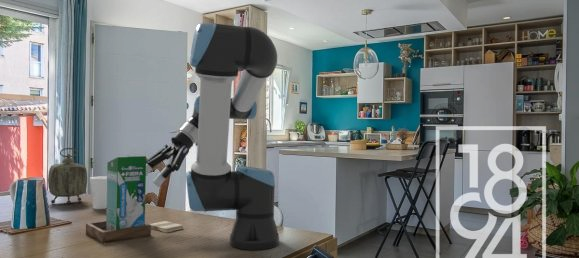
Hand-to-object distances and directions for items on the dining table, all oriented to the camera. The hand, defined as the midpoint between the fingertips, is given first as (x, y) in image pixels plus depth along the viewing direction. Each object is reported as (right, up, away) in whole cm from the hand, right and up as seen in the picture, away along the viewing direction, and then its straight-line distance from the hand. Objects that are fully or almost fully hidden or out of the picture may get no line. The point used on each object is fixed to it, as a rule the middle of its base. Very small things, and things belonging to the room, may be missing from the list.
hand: (145, 182), depth 137 cm
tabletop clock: (-51, -16, +44) cm, 69 cm away
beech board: (+6, -16, +3) cm, 18 cm away
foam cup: (-32, -16, +36) cm, 51 cm away
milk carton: (-4, -16, -6) cm, 17 cm away
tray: (-7, -16, -6) cm, 19 cm away
